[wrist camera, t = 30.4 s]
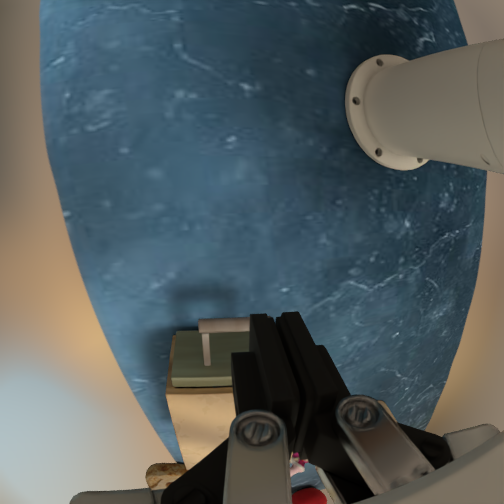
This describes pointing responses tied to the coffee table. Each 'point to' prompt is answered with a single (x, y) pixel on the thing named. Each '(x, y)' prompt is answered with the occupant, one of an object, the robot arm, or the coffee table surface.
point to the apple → (309, 497)
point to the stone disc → (163, 474)
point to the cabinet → (199, 417)
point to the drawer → (209, 352)
